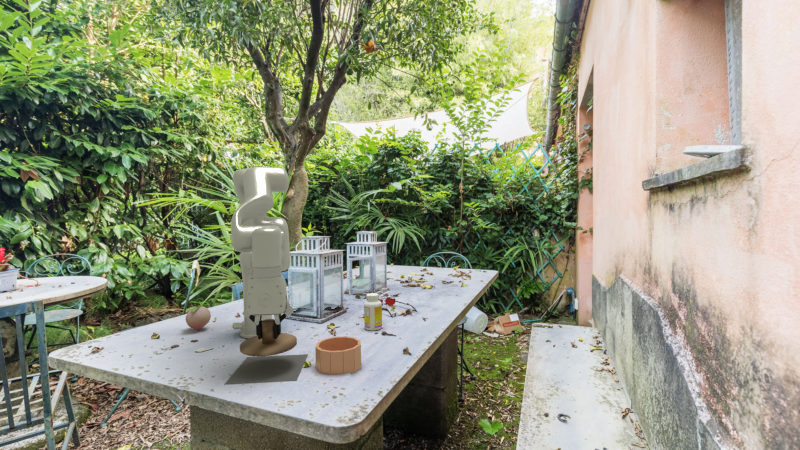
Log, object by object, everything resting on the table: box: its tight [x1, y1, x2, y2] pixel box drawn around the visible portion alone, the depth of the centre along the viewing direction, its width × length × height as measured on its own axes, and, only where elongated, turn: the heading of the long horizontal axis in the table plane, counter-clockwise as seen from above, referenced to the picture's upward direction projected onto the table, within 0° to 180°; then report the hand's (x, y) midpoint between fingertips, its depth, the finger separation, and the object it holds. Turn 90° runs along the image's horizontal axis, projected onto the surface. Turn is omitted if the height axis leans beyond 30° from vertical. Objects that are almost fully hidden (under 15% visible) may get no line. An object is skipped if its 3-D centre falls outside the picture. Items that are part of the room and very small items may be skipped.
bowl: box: [314, 335, 362, 375], centre depth 105 cm, size 12×12×6 cm
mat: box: [223, 353, 309, 386], centre depth 103 cm, size 18×18×1 cm
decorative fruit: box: [185, 303, 212, 331], centre depth 141 cm, size 9×8×10 cm
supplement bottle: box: [363, 292, 383, 332], centre depth 139 cm, size 7×7×13 cm
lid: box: [239, 318, 298, 357], centre depth 103 cm, size 15×15×7 cm
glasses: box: [378, 296, 418, 319], centre depth 164 cm, size 14×16×5 cm
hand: (268, 336), depth 104 cm, fingers closed on lid, 3 cm apart
